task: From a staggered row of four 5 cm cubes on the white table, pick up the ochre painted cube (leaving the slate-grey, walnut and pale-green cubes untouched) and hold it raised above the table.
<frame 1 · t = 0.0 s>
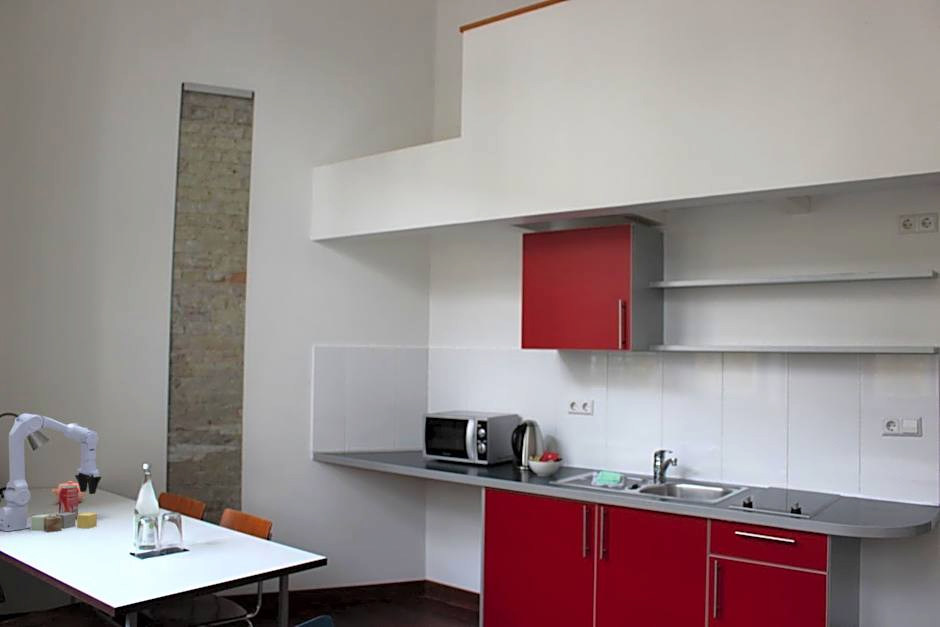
hand: (87, 492, 361), 10 cm above the table, fingers open, 7 cm apart
ochre block: (86, 527, 343), on the table
soda can: (68, 518, 359), on the table
slate block: (65, 526, 344), on the table
pale green block: (40, 528, 339), on the table
teapot: (67, 503, 393), on the table
walnut block: (52, 530, 337), on the table
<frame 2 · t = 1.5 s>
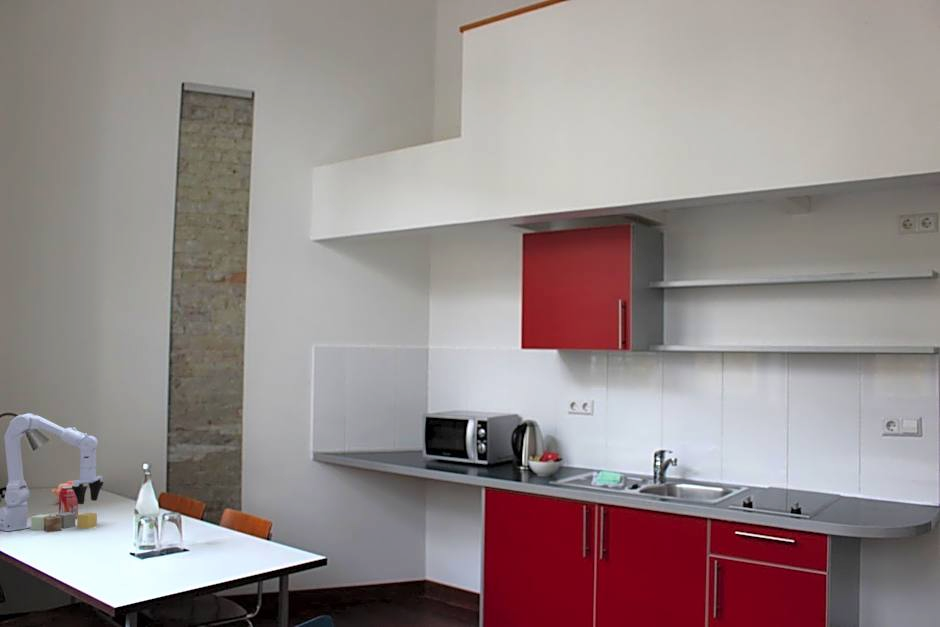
hand: (87, 502, 344), 10 cm above the table, fingers open, 7 cm apart
nothing on the table moved.
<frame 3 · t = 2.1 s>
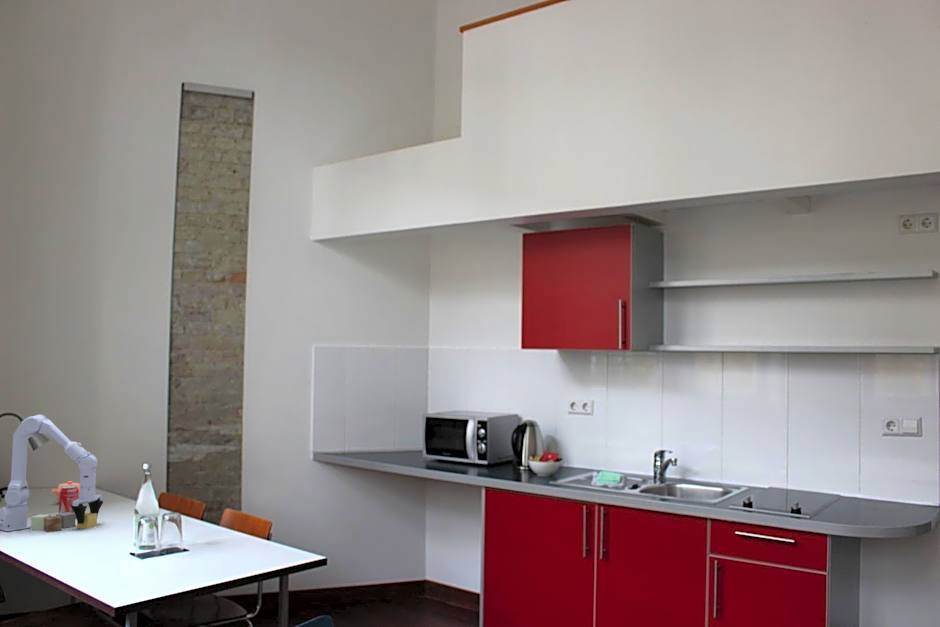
hand: (87, 521, 344), 2 cm above the table, fingers open, 7 cm apart
nothing on the table moved.
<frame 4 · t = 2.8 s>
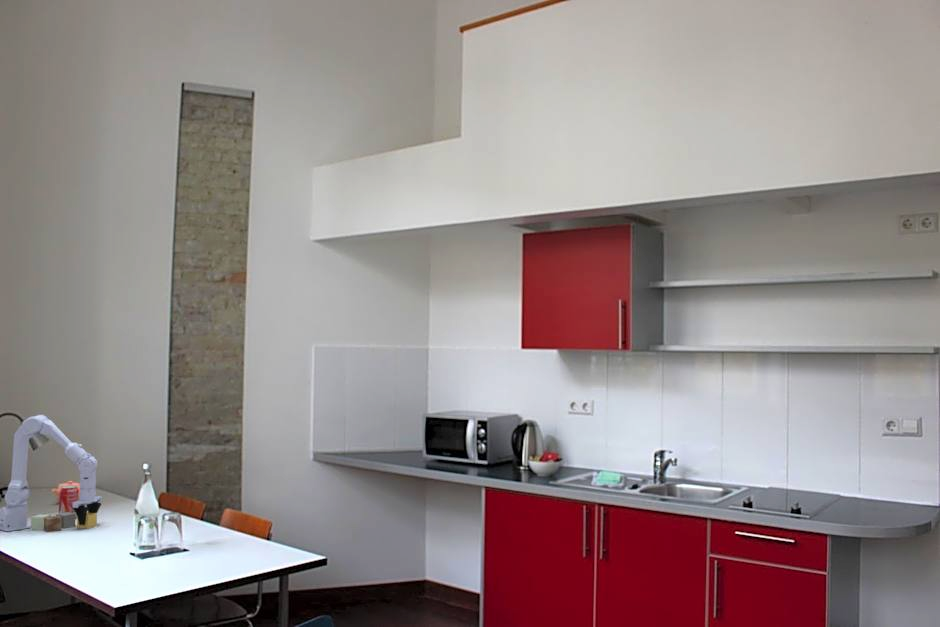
hand: (87, 523, 344), 1 cm above the table, fingers closed on ochre block, 5 cm apart
ochre block: (86, 526, 343), on the table, touching gripper
everything else where it was.
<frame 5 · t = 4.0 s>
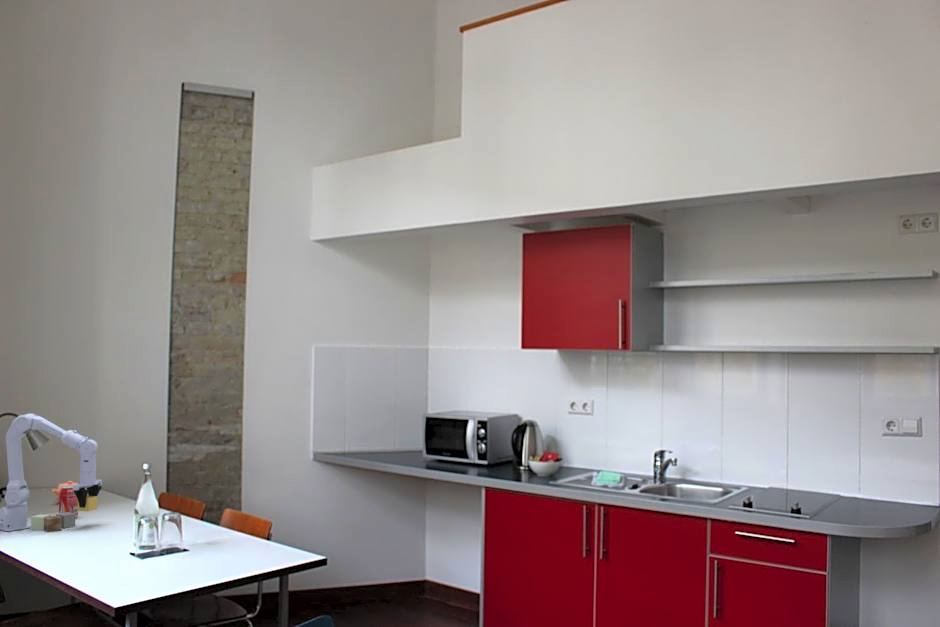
hand: (87, 506, 344), 8 cm above the table, fingers closed on ochre block, 5 cm apart
ochre block: (87, 509, 344), point 7 cm above the table, touching gripper
everything else where it was.
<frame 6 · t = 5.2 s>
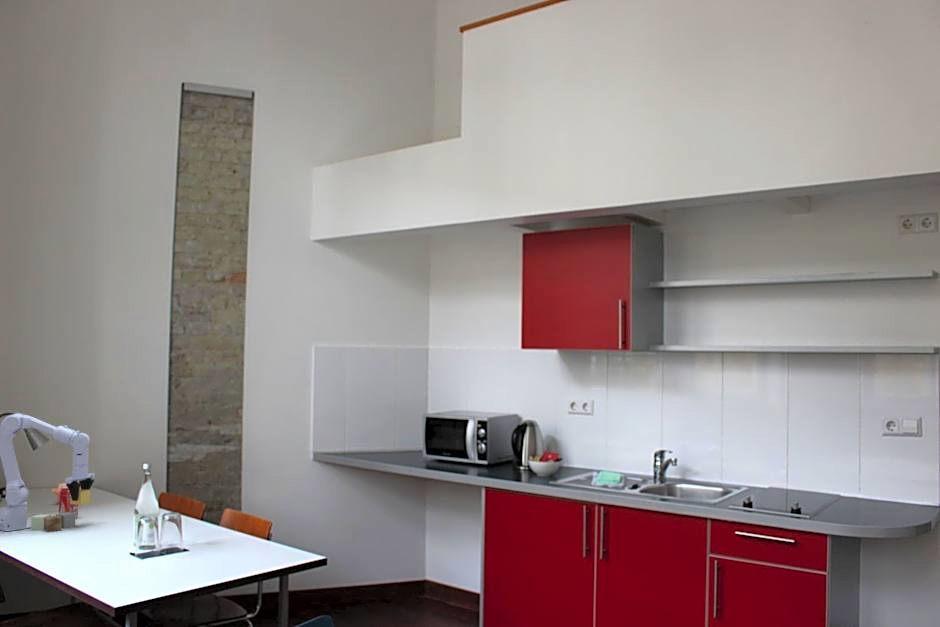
hand: (79, 499, 345), 10 cm above the table, fingers closed on ochre block, 5 cm apart
ochre block: (80, 503, 345), point 9 cm above the table, touching gripper
everything else where it was.
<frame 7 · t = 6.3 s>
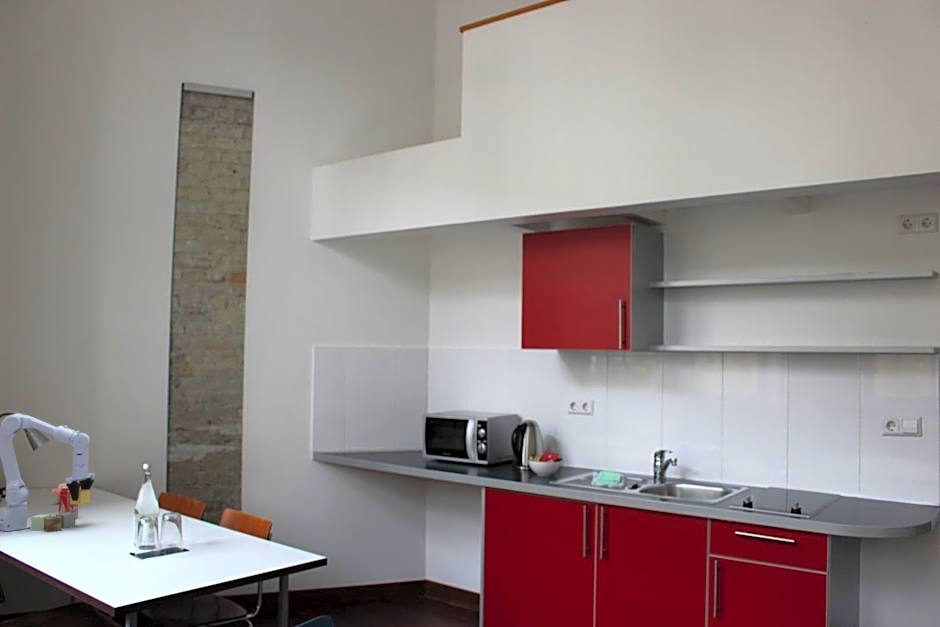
hand: (79, 499, 345), 10 cm above the table, fingers closed on ochre block, 5 cm apart
ochre block: (80, 503, 345), point 9 cm above the table, touching gripper
everything else where it was.
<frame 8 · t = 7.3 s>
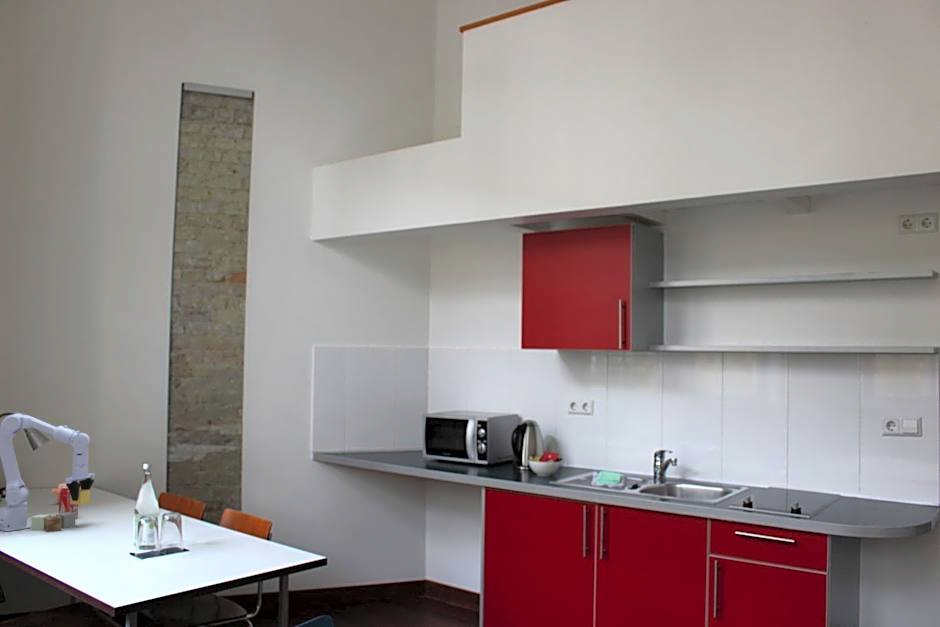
hand: (79, 499, 345), 10 cm above the table, fingers closed on ochre block, 5 cm apart
ochre block: (80, 503, 345), point 9 cm above the table, touching gripper
everything else where it was.
at the end: the gripper is holding ochre block; ochre block point 8.8 cm above the table; slate block moved 0.1 cm from its start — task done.
